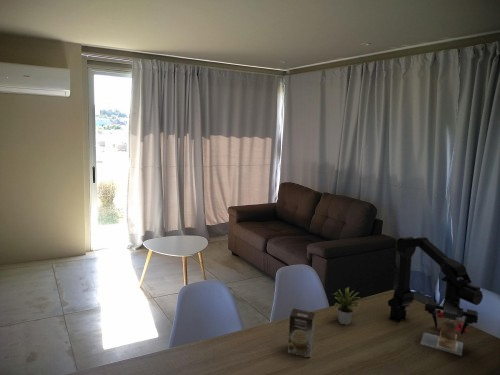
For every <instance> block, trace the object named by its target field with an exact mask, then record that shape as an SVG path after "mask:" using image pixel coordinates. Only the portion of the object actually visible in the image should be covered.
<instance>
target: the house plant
mask: <svg viewBox="0 0 500 375" xmlns="http://www.w3.org/2000/svg"><path fill="white" fill-rule="evenodd" d="M354 292H355V290H351V292H350V287H349V286H348V287H346V288H345V291H344V293H343V292H342V291H341V290H340V289H338V291H336V292H334V293H333V294H332V293H331V295H332V296H333V295H335V296H334V299H335V300H337V301H338V302H339V303H338V302H335V303H334V307H337V306H338V307H337V317H338V323H339V322H340V323H339V324H341V325H343V324H345V325H344V326H348V324H349V325H350V324H351V323H352V322H351V321H352V317H353V314H354V309H353V307H358V308H360V306H361V304H360V303H359V302H358V301H359V299H360V298H361V297H356V296H357V295H358V294H360V292H355V293H354ZM353 293H354V294H353ZM343 294H344V295H343ZM352 294H353V295H352ZM351 295H352V296H351ZM356 301H357V302H356ZM360 301H362V302H364V300H361V299H360Z"/></svg>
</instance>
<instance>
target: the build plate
mask: <svg viewBox="0 0 500 375" xmlns="http://www.w3.org/2000/svg"><path fill="white" fill-rule="evenodd" d="M439 336H440V335H436V334H432V333H427V332H423V334H422V337H421V340H420V343H419V344H420V345H423V346H427V347H431V348H433V349H437V350H440V351H444V352H447V353H451V354H454V355H458V356H463V348H464V342H461V341H458V340H456V347H455V350H451V349H448V348H444V347H441V346H438V345H439Z"/></svg>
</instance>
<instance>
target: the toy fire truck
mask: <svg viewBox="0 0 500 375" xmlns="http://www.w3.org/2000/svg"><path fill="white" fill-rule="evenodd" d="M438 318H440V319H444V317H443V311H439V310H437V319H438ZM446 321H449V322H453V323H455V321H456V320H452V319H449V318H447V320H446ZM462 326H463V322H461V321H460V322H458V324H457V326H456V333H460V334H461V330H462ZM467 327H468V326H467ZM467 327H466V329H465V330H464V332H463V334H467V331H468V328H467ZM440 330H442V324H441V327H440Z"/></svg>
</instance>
